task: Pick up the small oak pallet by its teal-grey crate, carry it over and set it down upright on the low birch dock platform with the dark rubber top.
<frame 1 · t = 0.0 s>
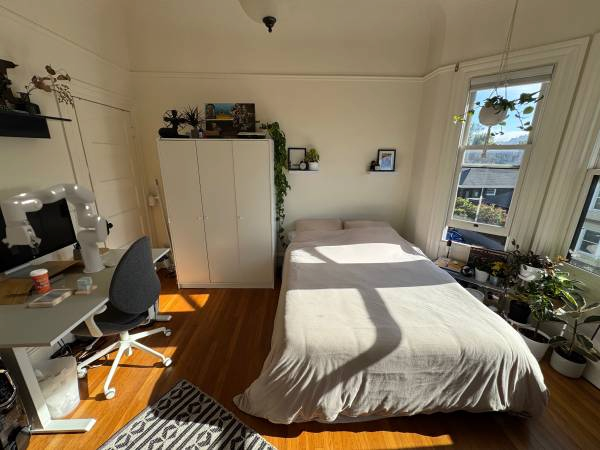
hand: (25, 253, 130), 31 cm above the table, fingers open, 9 cm apart
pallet: (86, 290, 154), on the table
dock: (53, 299, 144), on the table
paper cup: (44, 291, 152), on the table
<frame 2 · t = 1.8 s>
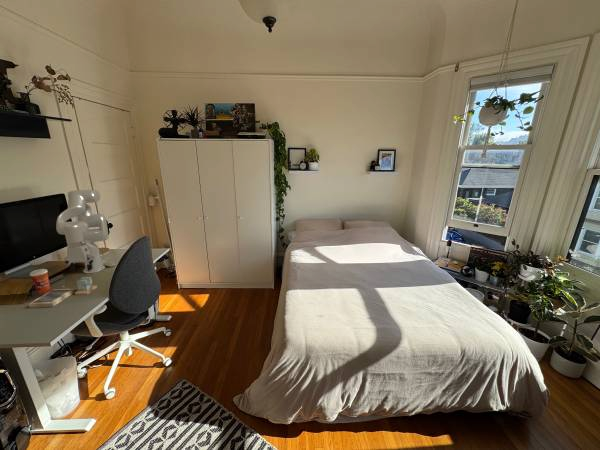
hand: (81, 270, 150), 15 cm above the table, fingers open, 9 cm apart
nothing on the table moved.
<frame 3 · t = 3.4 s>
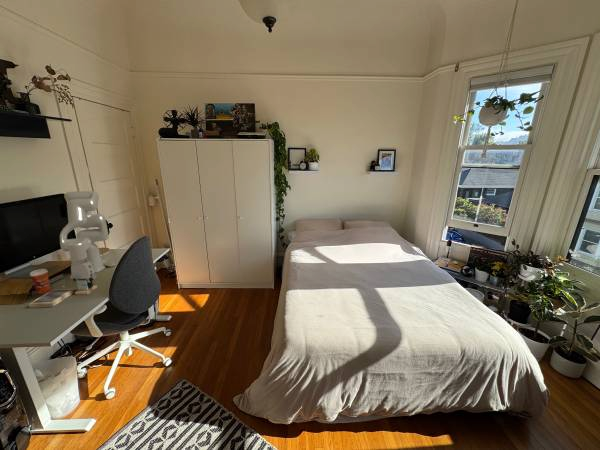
hand: (85, 287, 153), 3 cm above the table, fingers closed on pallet, 5 cm apart
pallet: (86, 290, 154), on the table, touching gripper
everything else where it was.
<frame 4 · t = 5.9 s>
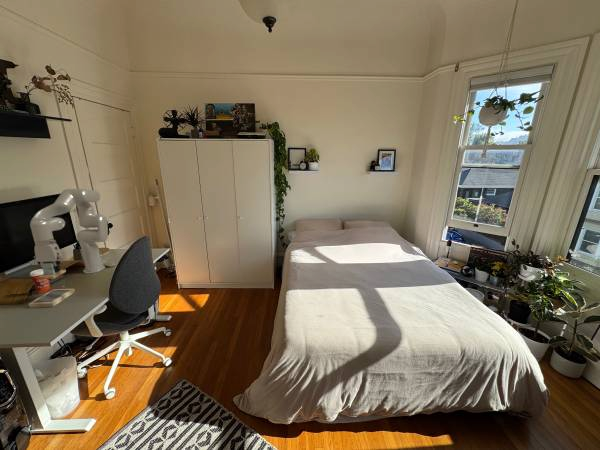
hand: (52, 271, 141), 18 cm above the table, fingers closed on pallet, 5 cm apart
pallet: (53, 275, 141), point 15 cm above the table, touching gripper
everything else where it was.
when the fingers open (6 cm above the table, at t = 8.7 s): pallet stays where it is, resting on dock.
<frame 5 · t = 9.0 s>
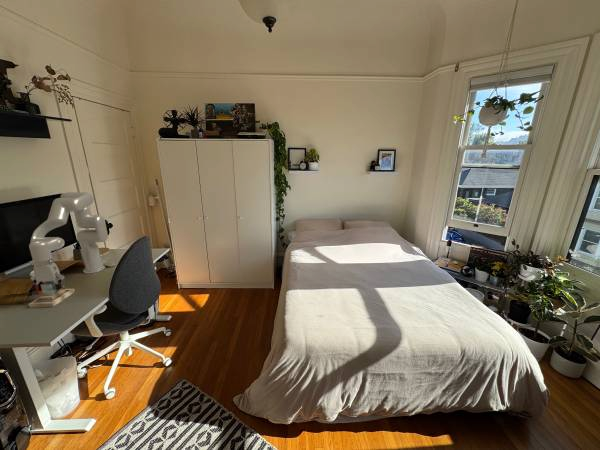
hand: (50, 289, 142), 7 cm above the table, fingers open, 8 cm apart
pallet: (52, 295, 143), point 2 cm above the table, touching dock
everything else where it was.
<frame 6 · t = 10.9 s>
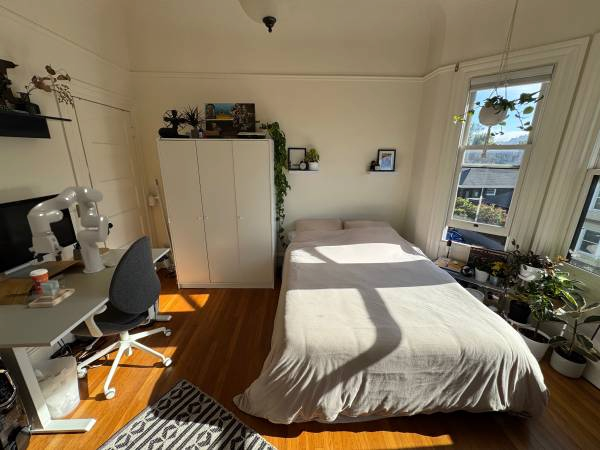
hand: (50, 261, 142), 23 cm above the table, fingers open, 9 cm apart
nothing on the table moved.
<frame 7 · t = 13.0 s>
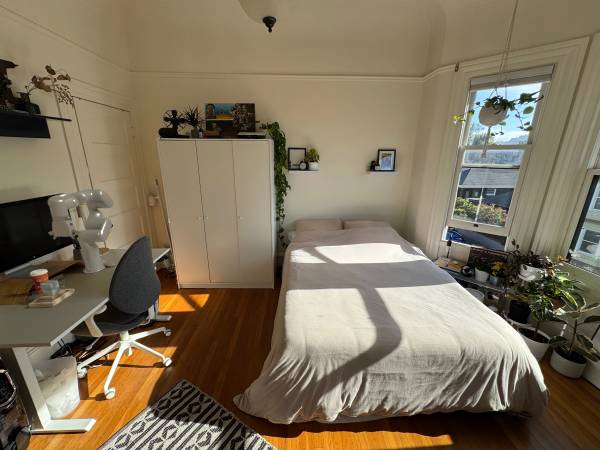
hand: (67, 244, 154), 28 cm above the table, fingers open, 9 cm apart
nothing on the table moved.
at the end: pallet inside the target area on the dock (0.1 cm from its centre), point 2.5 cm above the dock's base; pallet tilted 0°; the gripper is holding nothing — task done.
